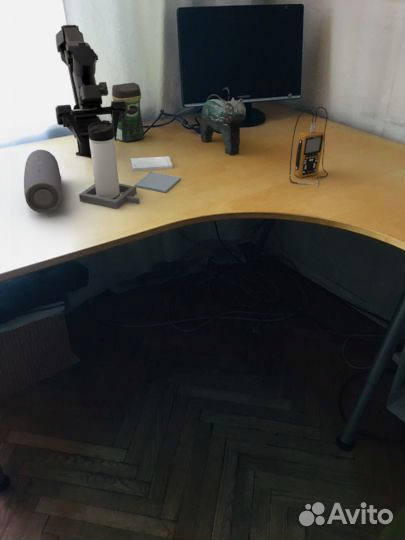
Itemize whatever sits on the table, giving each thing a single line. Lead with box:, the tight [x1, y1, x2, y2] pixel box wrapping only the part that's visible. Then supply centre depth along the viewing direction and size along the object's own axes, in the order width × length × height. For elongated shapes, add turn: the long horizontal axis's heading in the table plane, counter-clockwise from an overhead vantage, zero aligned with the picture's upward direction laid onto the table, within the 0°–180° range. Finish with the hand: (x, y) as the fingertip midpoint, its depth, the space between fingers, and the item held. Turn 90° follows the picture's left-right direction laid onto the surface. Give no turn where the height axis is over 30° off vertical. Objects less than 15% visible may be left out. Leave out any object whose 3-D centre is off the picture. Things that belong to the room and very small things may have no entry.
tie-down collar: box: [79, 182, 141, 210], centre depth 124 cm, size 15×10×2 cm
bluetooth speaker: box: [23, 149, 62, 214], centre depth 121 cm, size 23×9×10 cm, turn 17°
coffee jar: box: [111, 82, 145, 143], centre depth 158 cm, size 10×8×19 cm
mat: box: [133, 171, 182, 194], centre depth 133 cm, size 10×10×1 cm
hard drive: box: [129, 156, 174, 172], centre depth 144 cm, size 2×8×12 cm
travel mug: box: [88, 119, 121, 200], centre depth 119 cm, size 6×7×20 cm
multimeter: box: [289, 106, 328, 186], centre depth 131 cm, size 15×10×20 cm
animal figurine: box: [199, 87, 247, 156], centre depth 151 cm, size 20×6×20 cm, turn 35°
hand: (98, 141), depth 123 cm, fingers open, 9 cm apart
